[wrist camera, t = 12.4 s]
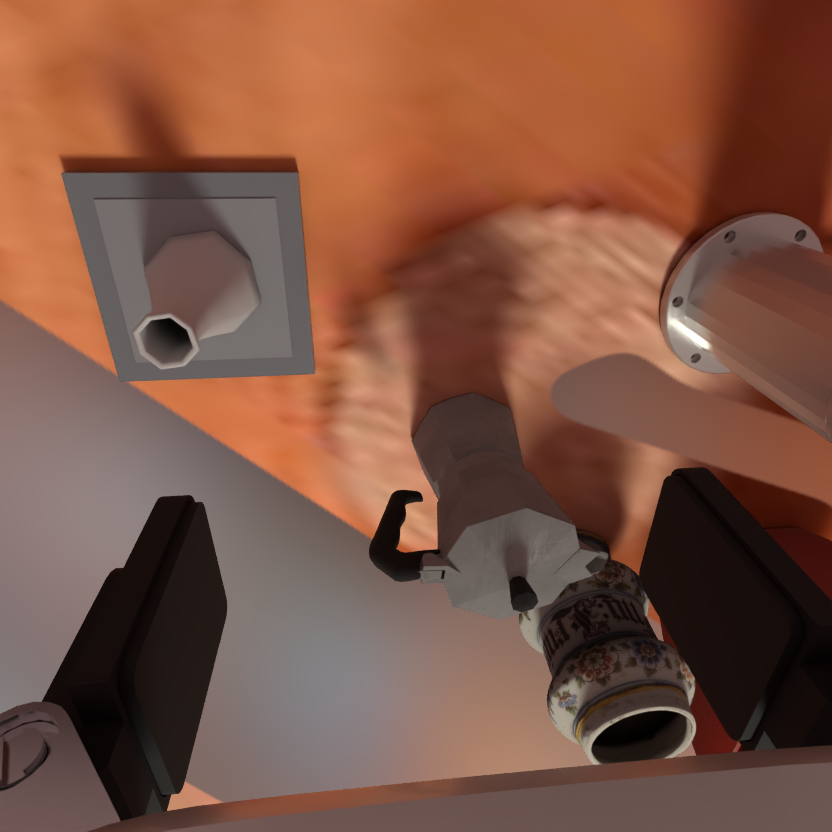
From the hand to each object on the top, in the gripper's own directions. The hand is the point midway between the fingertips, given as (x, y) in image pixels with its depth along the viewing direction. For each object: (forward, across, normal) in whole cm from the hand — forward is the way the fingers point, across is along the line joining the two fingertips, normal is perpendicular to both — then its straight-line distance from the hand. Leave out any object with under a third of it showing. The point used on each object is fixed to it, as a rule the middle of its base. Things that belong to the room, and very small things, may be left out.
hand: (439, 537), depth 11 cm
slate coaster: (+31, +12, +3) cm, 33 cm away
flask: (+30, +12, +3) cm, 33 cm away
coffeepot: (+32, -6, +18) cm, 36 cm away
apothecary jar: (+32, -17, +34) cm, 49 cm away
